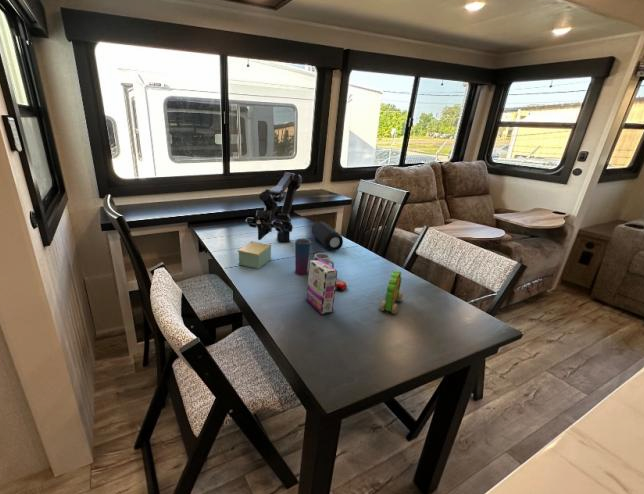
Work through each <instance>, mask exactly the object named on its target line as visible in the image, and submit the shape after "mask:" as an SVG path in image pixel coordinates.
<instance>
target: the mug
mask: <svg viewBox="0 0 644 494" xmlns="http://www.w3.org/2000/svg"><path fill="white" fill-rule="evenodd" d="M318 259H321V260H323V261H324V262H325V263H327V264H328V265H330V264H331V267H333V268H334V269H335V262H334V261H333V260H332V259H330V255H329V254H327V253H324V252H318V253H315V254H314V257H313V260H318Z"/></svg>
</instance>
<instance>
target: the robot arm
mask: <svg viewBox="0 0 644 494" xmlns="http://www.w3.org/2000/svg"><path fill="white" fill-rule="evenodd" d="M302 183H303V178H302V176H301V175H300V174H295V173H293V172H287V171H286V172H284V173H283V176H282V177H281V179H280V180H279V182H278V183H277V184H276V185H275V186H274V187H271V189H268V188H265V190H263V191H262V192H261V193H260V194H259V195H258V197H259V200H260V202H261V204H262V206H264V209H262V210H258V209H257V210H256V213H255V217H252V216H251V217H250V216H248V217H246V219H245V223H246V224H247V226H248V227H250V228H257V240H258V241H261V240H262V239H263V238H264V237H266V236H267V235H268V234H269V233H272V231H273V229H274V230H275V231H276V240H277V242H278V243H290V242H291V240H290V234H291V232H293V228H294V226H293V223H292V220H291V216H290V214H291V211H292V206H293V203H294V198H295V195H296V191H297V190H298V189H299V188H300V187H301V184H302ZM285 192H286V193H285ZM282 201H283V205H282V208H281V212H280V213H277V214H276V212H277V211H278V210H279V205H278V203H282ZM275 215H276V216H275ZM256 218H258V220H257V219H256Z"/></svg>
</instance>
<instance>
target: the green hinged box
mask: <svg viewBox="0 0 644 494" xmlns="http://www.w3.org/2000/svg"><path fill="white" fill-rule="evenodd" d="M271 259H272V246H271V247H269V248H268V249H267V250H265V251H264V252H263V253H261V254H260V255H258V256H256V255H251V254H247V253H242V252H238V265H240V266H243V267H248V268H252V269H256V270H259V269H261V268H262V267H263V266H265V265H266V264H267V263H268V262H270V261H271Z"/></svg>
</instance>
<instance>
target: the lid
mask: <svg viewBox="0 0 644 494" xmlns="http://www.w3.org/2000/svg"><path fill="white" fill-rule="evenodd" d="M269 247H271V248H272V244H269V243H263V242H259V241H254V240H252V241H250V242H248V243H247V244H244V246H242V247H240V248H239V249H238V250H237V252H238V253H239V252H242V253H247V254H251V255H256V256H258V255H260V254H261V253H263V252H264V251H265V250H267V249H268V248H269Z"/></svg>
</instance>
